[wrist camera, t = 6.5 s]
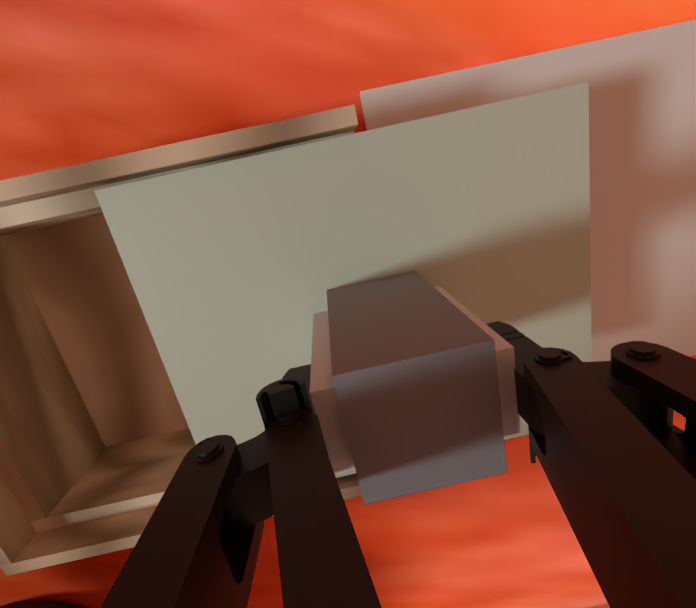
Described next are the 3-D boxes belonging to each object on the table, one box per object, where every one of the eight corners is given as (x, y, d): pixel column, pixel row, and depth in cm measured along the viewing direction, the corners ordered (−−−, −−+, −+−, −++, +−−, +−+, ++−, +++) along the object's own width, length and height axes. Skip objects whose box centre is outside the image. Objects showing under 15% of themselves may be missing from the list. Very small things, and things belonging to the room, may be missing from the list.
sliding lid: (225, 486, 21) (155, 704, 12) (110, 190, 16) (-147, 192, 7) (577, 407, 21) (763, 566, 12) (569, 89, 16) (869, -30, 7)
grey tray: (696, 350, 29) (703, 353, 28) (415, 412, 29) (417, 417, 28) (724, 15, 22) (735, 10, 22) (359, 93, 22) (360, 91, 21)
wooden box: (100, 459, 28) (6, 576, 19) (-21, 213, 22) (-225, 229, 14) (391, 394, 28) (422, 482, 20) (341, 135, 23) (354, 104, 14)
